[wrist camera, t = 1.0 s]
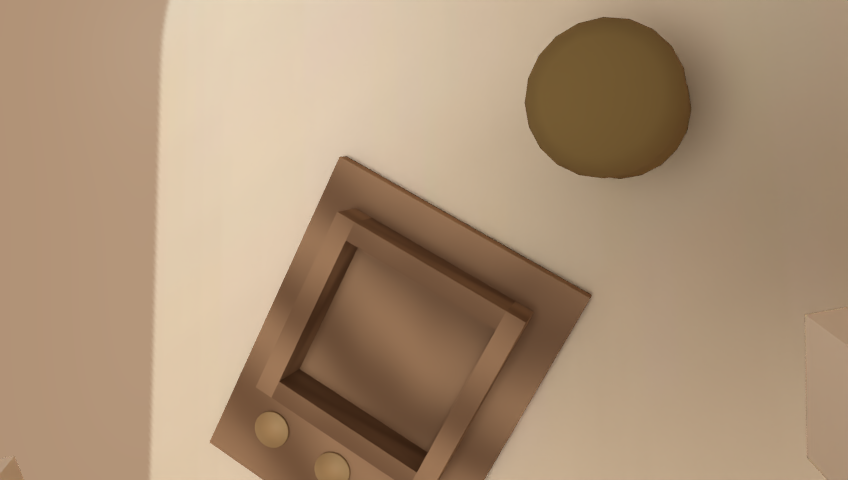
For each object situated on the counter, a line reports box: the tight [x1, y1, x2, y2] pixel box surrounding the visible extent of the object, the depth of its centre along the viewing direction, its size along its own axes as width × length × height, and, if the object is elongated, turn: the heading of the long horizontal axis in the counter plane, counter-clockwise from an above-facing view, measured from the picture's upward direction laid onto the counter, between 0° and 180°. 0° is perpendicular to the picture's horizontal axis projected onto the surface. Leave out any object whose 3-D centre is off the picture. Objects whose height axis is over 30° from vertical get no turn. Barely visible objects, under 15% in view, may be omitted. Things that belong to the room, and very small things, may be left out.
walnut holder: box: [210, 157, 591, 480], centre depth 37 cm, size 18×14×3 cm
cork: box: [525, 17, 691, 179], centre depth 28 cm, size 6×6×11 cm
